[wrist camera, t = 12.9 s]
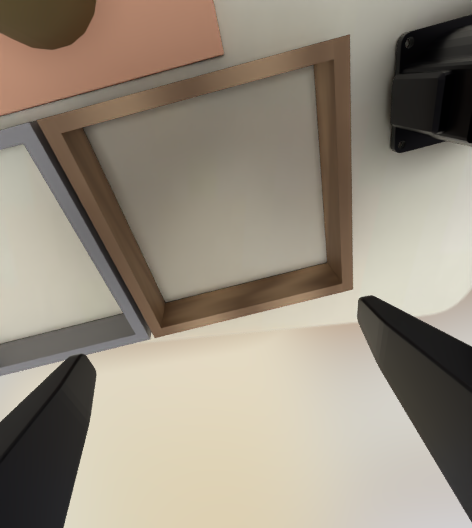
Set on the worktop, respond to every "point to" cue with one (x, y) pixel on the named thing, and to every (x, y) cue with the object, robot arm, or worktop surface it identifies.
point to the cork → (45, 21)
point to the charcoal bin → (108, 329)
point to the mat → (110, 51)
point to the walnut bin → (248, 294)
